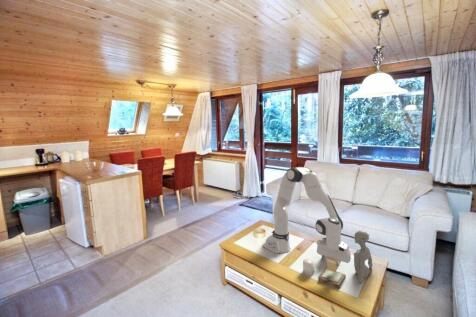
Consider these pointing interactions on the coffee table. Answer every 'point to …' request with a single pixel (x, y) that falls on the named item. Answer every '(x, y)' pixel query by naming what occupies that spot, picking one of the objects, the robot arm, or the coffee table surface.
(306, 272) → the white rounded cylinder
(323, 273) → the wooden picture frame
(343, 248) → the robot arm
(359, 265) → the elf figurine
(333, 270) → the carton
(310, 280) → the coffee table surface
